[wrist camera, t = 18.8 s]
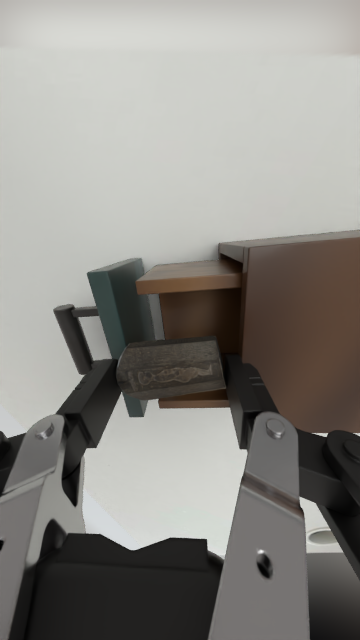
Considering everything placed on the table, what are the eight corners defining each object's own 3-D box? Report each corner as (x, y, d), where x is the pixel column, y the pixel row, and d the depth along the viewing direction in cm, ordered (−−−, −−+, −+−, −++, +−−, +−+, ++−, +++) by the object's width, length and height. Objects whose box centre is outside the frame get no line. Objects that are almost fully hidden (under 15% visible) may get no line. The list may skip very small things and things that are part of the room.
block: (225, 372, 11) (231, 396, 9) (136, 389, 12) (128, 413, 10) (212, 321, 10) (217, 339, 8) (113, 345, 11) (99, 365, 9)
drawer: (108, 362, 21) (71, 418, 15) (78, 263, 17) (2, 279, 10) (268, 356, 20) (307, 415, 13) (283, 245, 15) (357, 249, 8)
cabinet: (218, 357, 21) (236, 433, 13) (218, 243, 16) (248, 246, 8) (350, 352, 20) (464, 433, 12) (396, 226, 15) (660, 209, 6)
